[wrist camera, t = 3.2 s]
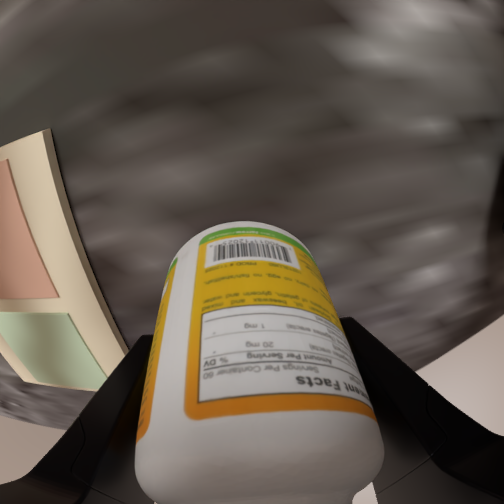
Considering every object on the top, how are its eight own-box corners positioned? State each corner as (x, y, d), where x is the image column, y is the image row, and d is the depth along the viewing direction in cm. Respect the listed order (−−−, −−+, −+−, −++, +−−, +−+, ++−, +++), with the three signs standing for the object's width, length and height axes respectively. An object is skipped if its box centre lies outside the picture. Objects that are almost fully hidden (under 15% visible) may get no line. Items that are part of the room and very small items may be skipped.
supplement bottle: (231, 351, 13) (246, 575, 5) (137, 275, 10) (76, 570, 2) (340, 290, 11) (431, 542, 3) (260, 183, 9) (363, 623, 1)
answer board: (50, 128, 7) (40, 132, 7) (148, 386, 14) (147, 396, 14) (-76, 187, 7) (-84, 192, 6) (26, 375, 14) (23, 382, 13)
